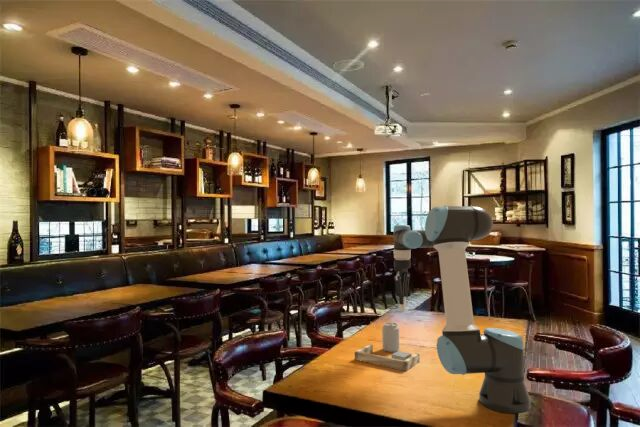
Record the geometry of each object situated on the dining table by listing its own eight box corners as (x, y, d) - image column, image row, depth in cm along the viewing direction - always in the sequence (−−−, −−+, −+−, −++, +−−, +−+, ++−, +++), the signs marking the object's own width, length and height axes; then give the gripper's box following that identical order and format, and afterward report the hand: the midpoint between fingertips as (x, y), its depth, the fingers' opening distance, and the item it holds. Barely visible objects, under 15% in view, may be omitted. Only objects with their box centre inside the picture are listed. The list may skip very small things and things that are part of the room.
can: (380, 351, 192) (380, 324, 192) (385, 347, 198) (385, 321, 198) (396, 353, 188) (396, 326, 188) (401, 349, 195) (401, 322, 195)
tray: (406, 371, 166) (406, 362, 166) (354, 360, 180) (354, 351, 180) (419, 362, 177) (419, 353, 177) (369, 352, 190) (369, 344, 190)
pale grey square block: (404, 367, 171) (404, 357, 172) (391, 364, 175) (391, 354, 175) (411, 363, 176) (411, 353, 176) (398, 360, 180) (398, 350, 180)
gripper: (400, 257, 200) (400, 307, 200) (388, 259, 190) (388, 312, 190) (415, 258, 196) (415, 309, 196) (403, 260, 185) (404, 315, 186)
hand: (402, 310), depth 193 cm, fingers closed
